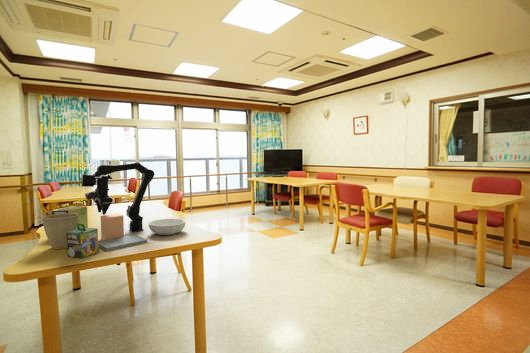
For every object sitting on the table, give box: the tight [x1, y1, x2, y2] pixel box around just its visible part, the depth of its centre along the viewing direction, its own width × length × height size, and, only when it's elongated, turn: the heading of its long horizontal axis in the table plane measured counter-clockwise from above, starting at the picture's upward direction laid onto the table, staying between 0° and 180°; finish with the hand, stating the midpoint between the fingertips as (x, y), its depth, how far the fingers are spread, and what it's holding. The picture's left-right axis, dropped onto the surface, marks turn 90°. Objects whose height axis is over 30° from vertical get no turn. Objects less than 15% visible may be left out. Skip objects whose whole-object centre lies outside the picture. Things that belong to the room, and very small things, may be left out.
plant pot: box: [41, 213, 78, 250], centre depth 143 cm, size 15×15×16 cm
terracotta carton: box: [100, 213, 125, 241], centre depth 158 cm, size 9×8×13 cm
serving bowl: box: [148, 218, 186, 236], centre depth 171 cm, size 21×21×7 cm
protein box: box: [51, 205, 89, 229], centre depth 168 cm, size 10×15×16 cm
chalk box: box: [66, 223, 100, 259], centre depth 132 cm, size 9×9×15 cm
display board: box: [98, 233, 148, 252], centre depth 150 cm, size 20×16×2 cm
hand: (101, 213), depth 165 cm, fingers open, 9 cm apart
